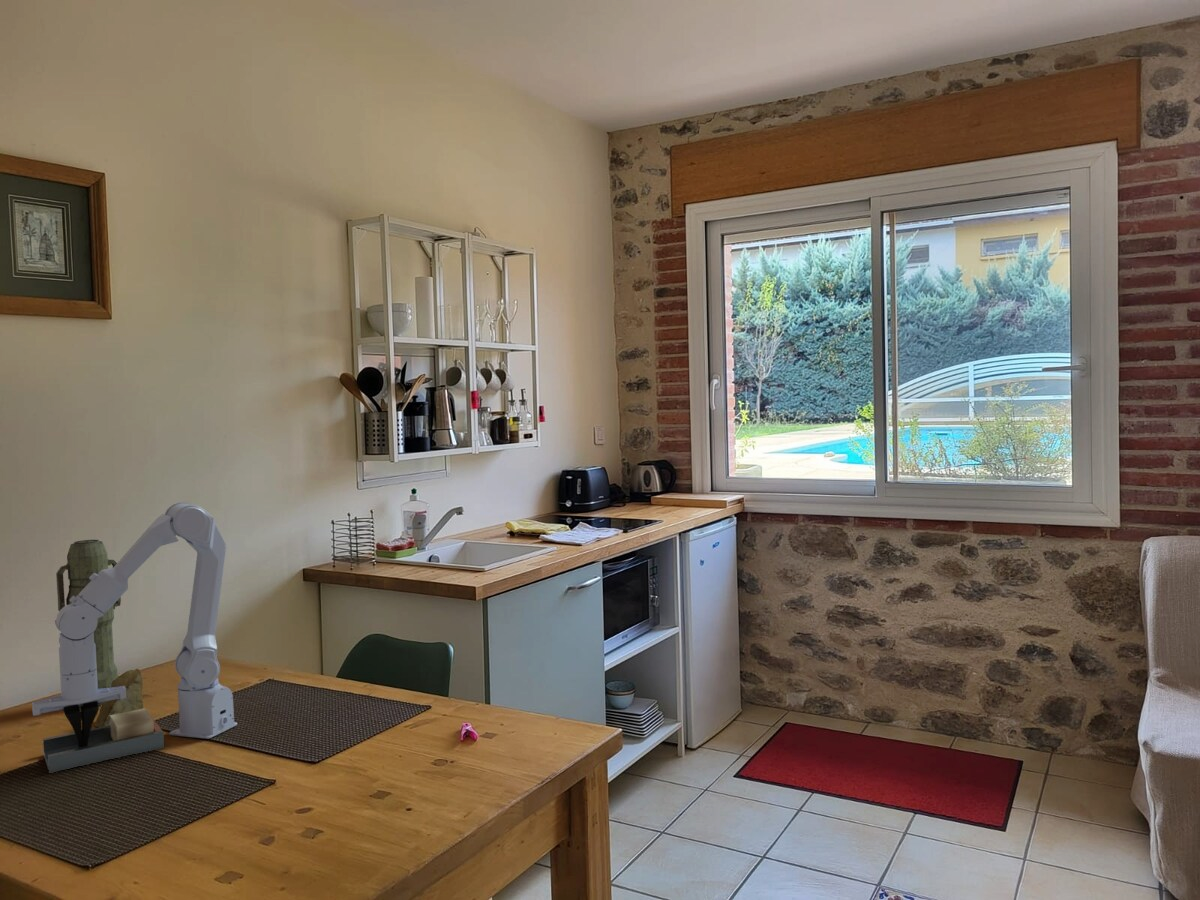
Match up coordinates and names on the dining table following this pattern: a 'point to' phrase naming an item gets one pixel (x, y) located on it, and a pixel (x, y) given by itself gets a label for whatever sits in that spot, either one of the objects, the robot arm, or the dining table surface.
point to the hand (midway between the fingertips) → (82, 745)
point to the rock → (130, 703)
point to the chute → (96, 747)
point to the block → (131, 724)
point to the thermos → (80, 567)
